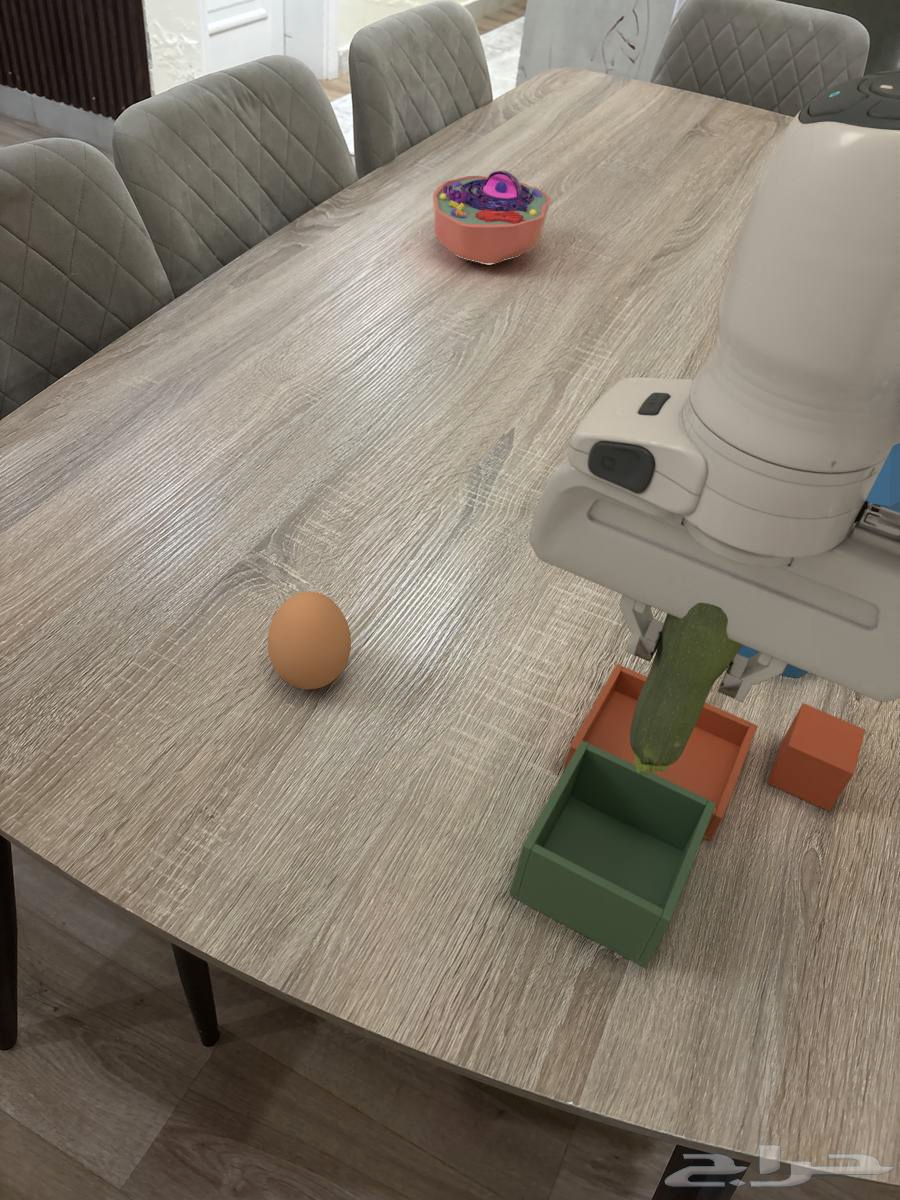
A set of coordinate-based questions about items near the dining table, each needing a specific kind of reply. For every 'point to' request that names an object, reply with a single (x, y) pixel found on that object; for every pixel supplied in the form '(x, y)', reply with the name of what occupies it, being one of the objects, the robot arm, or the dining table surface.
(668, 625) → the vegetable
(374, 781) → the dining table surface
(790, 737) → the terracotta block
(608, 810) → the produce bin
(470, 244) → the cell model
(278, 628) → the egg
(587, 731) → the terracotta tray
